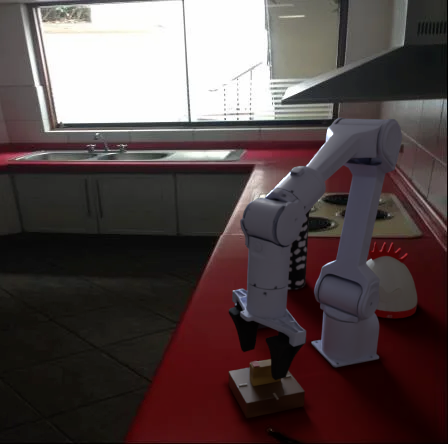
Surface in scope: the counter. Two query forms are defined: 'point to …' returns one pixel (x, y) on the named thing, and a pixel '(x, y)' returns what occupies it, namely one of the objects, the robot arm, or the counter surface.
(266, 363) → the yellow rectangular block
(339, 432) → the counter surface
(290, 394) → the panel
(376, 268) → the kitchen timer
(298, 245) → the white-spotted black cylinder
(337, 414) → the counter surface
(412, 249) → the counter surface
